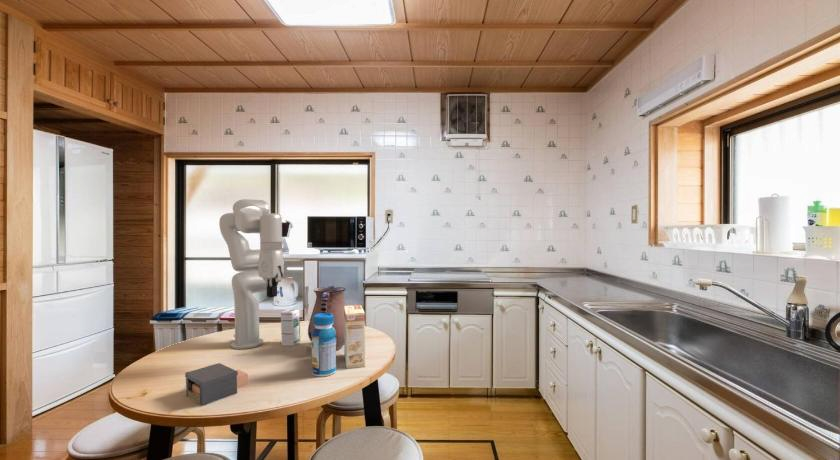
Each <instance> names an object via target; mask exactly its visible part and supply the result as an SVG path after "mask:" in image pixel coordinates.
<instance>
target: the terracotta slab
mask: <svg viewBox="0 0 840 460" xmlns="http://www.w3.org/2000/svg"><path fill="white" fill-rule="evenodd" d="M235 370H236V371H238V375H237V390H238V389H241V388H244V387H246V386H248V385H249V373H248V372H245V371H243V370H241V369H235ZM192 390H194V391H195V392H197V393H199V394H200V385H198V384H197V383H194V384H192Z"/></svg>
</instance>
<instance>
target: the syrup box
mask: <svg viewBox="0 0 840 460" xmlns="http://www.w3.org/2000/svg"><path fill="white" fill-rule="evenodd" d="M280 329H281V330H280V331H281V345H282V346H287V347H288V346H290V347H292V346H293V347H294V346H296V345H298V344H299V343H300V342H301V318H300V309H298V308H297V309H296V308H288V309H286V310H283V311H281V312H280Z"/></svg>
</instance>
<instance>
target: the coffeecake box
mask: <svg viewBox="0 0 840 460" xmlns="http://www.w3.org/2000/svg"><path fill="white" fill-rule="evenodd" d="M365 317H366V313H365V310H364V309H363V306H362V305H361V304H351V305H346V306H344V345H343V346H344V347H343V348H344V351H343V352H344V362H345V368H346V369H355V368H366V327H365V326H366V320H365V319H366V318H365Z"/></svg>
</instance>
